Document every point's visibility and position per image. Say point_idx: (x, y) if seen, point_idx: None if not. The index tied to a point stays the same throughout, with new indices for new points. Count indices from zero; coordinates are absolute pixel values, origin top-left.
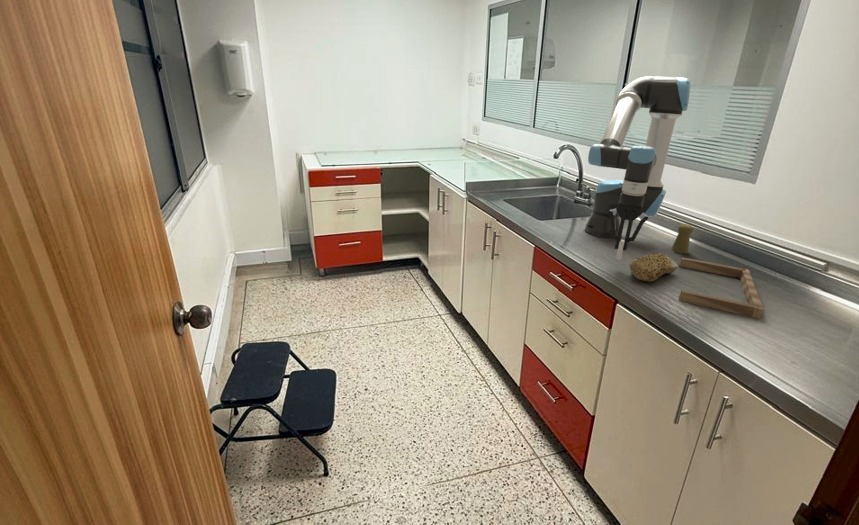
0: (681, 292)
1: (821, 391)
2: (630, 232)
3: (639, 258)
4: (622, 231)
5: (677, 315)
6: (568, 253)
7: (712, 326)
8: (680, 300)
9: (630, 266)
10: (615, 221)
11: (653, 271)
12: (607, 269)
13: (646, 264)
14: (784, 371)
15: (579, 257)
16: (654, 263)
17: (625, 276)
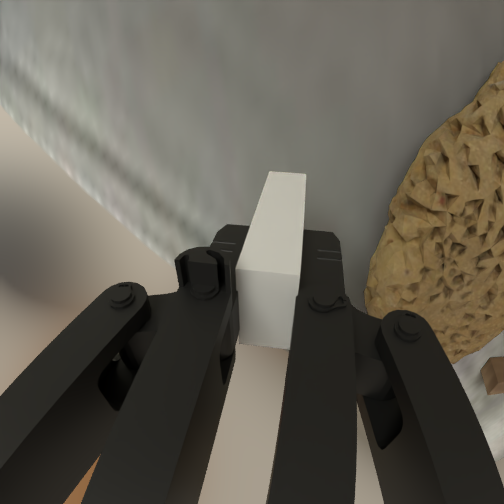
0: (487, 393)
1: (500, 454)
2: (355, 410)
3: (443, 226)
4: (203, 402)
5: None
6: (26, 110)
7: (479, 422)
8: (483, 370)
9: (365, 301)
10: (1, 477)
11: (456, 361)
12: (244, 222)
13: (451, 325)
14: (493, 450)
15: (73, 127)
16: (496, 316)
17: (344, 272)
